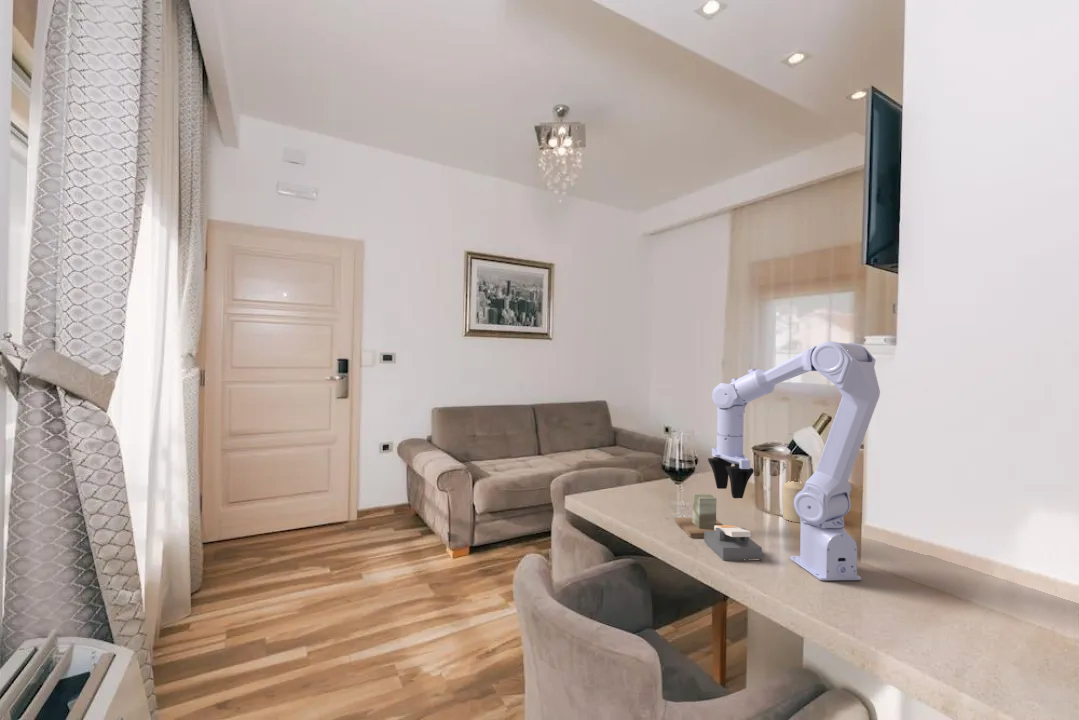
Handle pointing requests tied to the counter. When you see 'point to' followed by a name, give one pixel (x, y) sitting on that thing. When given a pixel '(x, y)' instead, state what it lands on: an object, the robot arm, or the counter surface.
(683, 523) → the walnut board
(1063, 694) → the counter surface
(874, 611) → the counter surface
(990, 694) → the counter surface
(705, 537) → the switch base
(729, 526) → the rocker
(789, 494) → the candle
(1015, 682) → the counter surface
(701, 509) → the block
